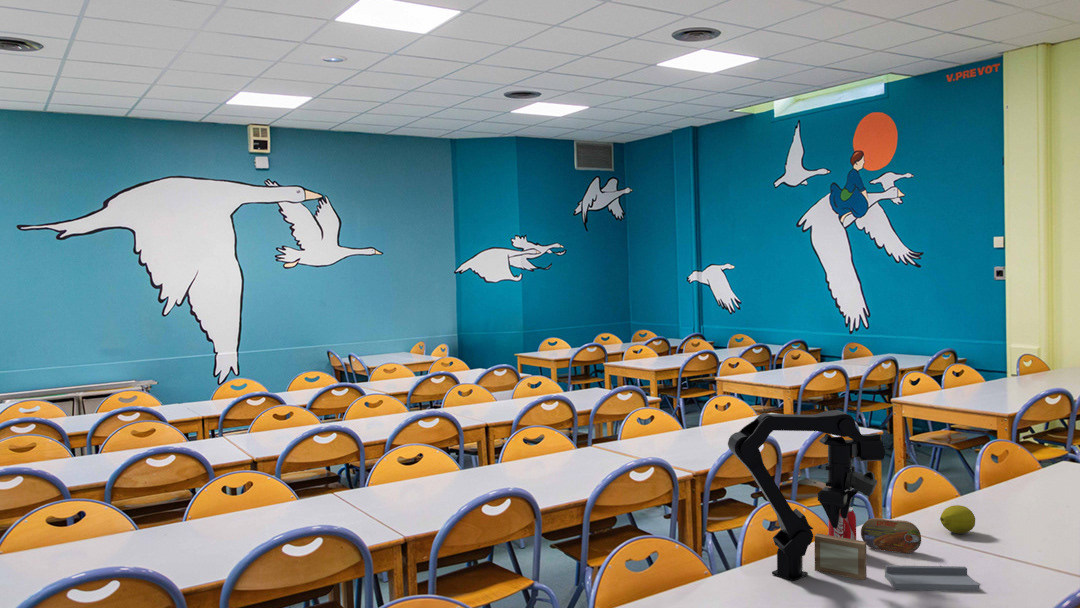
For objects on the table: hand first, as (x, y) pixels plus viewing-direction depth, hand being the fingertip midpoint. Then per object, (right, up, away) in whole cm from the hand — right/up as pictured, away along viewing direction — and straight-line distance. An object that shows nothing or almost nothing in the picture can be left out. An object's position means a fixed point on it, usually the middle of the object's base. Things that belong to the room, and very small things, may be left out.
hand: (839, 522), depth 201 cm
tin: (+20, -12, +17) cm, 29 cm away
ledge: (+19, -13, -7) cm, 24 cm away
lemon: (+45, -11, +29) cm, 55 cm away
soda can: (+7, -12, +16) cm, 21 cm away
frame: (0, -13, 0) cm, 13 cm away
